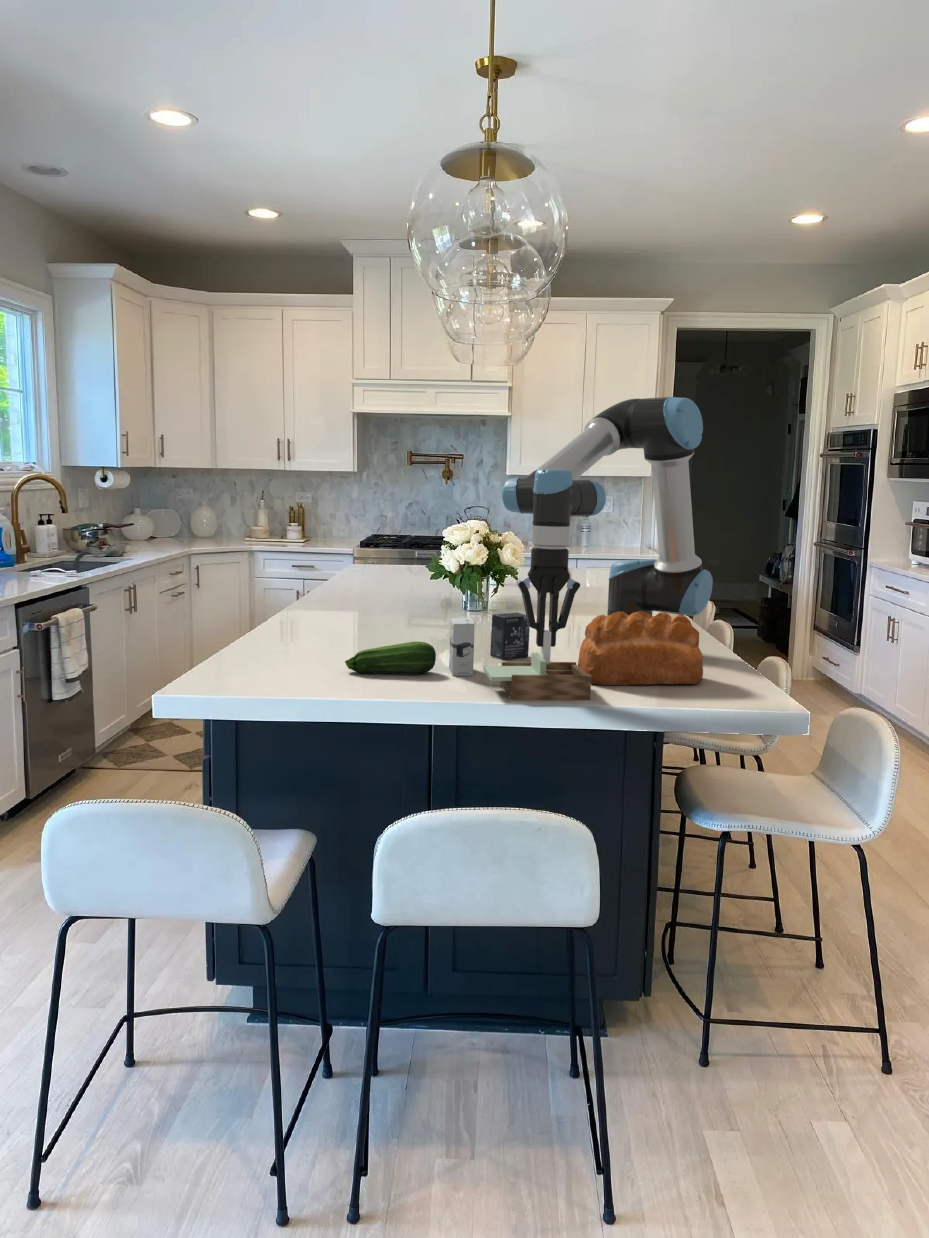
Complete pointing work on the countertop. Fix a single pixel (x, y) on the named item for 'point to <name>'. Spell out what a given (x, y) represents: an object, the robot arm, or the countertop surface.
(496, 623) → the box
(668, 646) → the bread
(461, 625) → the ink box
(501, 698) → the countertop surface
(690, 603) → the robot arm
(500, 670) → the lid
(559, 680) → the pencil box
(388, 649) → the vegetable
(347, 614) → the countertop surface
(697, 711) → the countertop surface
